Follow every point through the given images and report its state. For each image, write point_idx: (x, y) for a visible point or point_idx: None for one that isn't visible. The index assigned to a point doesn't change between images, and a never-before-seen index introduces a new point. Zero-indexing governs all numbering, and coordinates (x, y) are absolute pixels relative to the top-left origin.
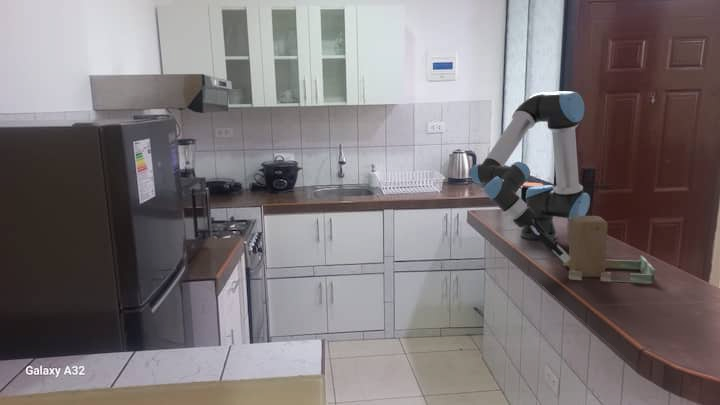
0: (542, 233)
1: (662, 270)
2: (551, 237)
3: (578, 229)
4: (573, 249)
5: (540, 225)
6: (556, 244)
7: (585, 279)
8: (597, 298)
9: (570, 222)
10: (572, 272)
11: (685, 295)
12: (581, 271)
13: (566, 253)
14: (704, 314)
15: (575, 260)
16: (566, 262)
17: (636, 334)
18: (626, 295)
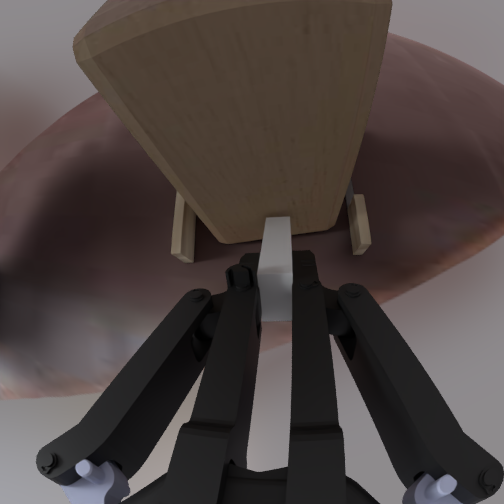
0: (459, 430)
1: None
2: (177, 313)
3: (384, 39)
4: (304, 179)
5: (167, 475)
6: (313, 283)
7: (351, 195)
8: (479, 190)
9: (113, 86)
10: (368, 232)
11: None
12: (360, 195)
13: (276, 230)
14: (441, 55)
15: (342, 197)
16: (188, 248)
17: None
18: (428, 121)
